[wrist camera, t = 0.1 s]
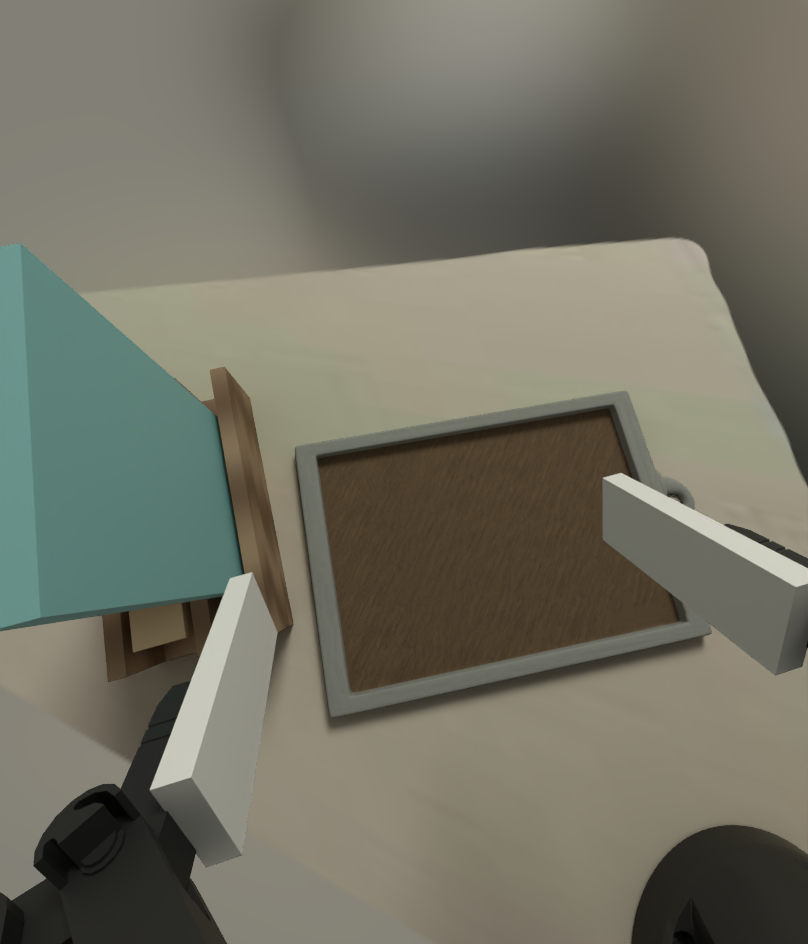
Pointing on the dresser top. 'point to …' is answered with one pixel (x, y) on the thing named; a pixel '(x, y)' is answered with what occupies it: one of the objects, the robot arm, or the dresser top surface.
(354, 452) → the framed cork board
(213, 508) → the teal rectangular slab
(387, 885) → the dresser top surface
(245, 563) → the rack
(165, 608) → the offcut oak
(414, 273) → the dresser top surface
